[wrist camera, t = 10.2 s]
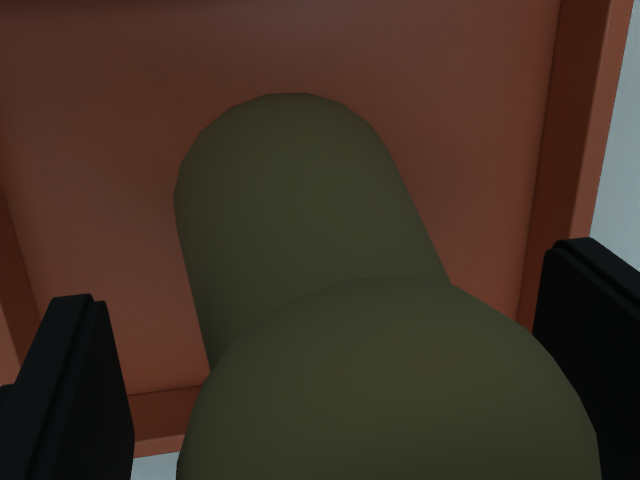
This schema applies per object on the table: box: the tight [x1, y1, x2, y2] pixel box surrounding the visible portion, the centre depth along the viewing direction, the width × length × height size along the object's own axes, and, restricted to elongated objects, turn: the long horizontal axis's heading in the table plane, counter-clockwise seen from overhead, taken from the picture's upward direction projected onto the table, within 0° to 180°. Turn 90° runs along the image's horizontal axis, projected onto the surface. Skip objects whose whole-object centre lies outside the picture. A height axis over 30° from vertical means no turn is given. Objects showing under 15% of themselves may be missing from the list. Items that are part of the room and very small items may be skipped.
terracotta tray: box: [0, 0, 634, 458], centre depth 15 cm, size 15×12×2 cm
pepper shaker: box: [173, 92, 602, 480], centre depth 11 cm, size 6×6×11 cm
